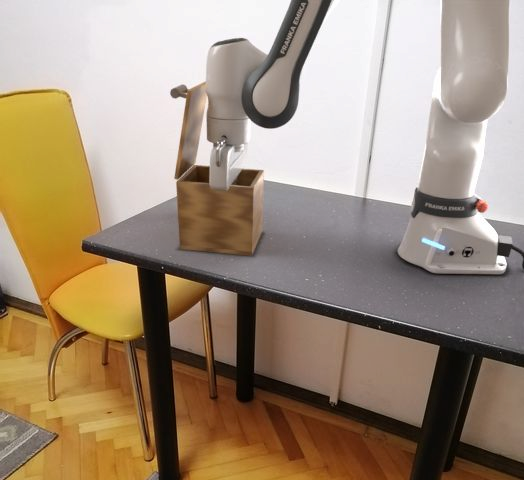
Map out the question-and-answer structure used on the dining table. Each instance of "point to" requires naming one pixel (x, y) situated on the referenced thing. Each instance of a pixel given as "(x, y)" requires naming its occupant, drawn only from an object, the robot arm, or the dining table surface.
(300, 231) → the dining table surface
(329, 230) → the dining table surface
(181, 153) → the lid
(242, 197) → the chest
